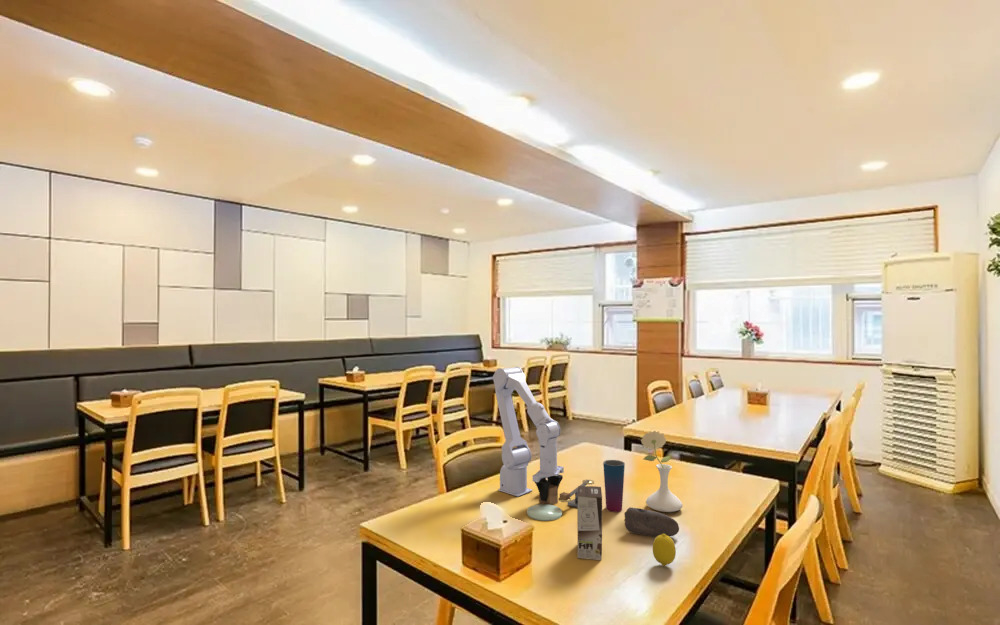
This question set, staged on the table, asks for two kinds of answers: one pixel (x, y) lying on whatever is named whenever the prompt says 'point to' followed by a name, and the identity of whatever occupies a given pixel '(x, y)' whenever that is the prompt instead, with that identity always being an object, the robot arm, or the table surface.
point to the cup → (614, 484)
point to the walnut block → (551, 496)
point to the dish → (544, 512)
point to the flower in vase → (663, 496)
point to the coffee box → (589, 522)
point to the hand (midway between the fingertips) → (548, 498)
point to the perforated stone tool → (649, 523)
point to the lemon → (664, 549)
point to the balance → (566, 496)
